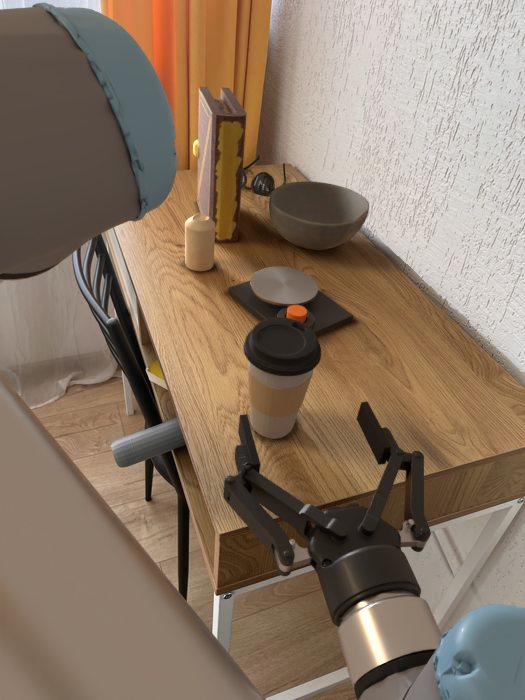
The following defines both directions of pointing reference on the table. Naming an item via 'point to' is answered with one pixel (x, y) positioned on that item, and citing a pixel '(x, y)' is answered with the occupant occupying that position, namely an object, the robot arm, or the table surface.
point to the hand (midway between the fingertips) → (303, 416)
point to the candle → (199, 242)
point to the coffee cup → (279, 373)
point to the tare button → (297, 313)
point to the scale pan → (283, 286)
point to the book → (220, 160)
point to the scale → (319, 311)
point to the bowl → (317, 213)
